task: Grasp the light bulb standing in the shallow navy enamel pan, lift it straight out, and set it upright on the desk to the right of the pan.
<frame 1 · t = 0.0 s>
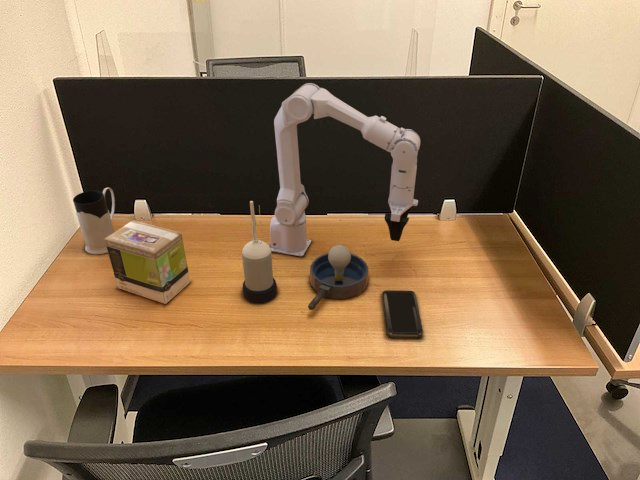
hand: (397, 232, 127), 10 cm above the table, tool pointing down, fingers open, 7 cm apart
pan handle: (318, 297, 117), point 2 cm above the table
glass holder: (107, 240, 142), on the table
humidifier: (260, 293, 123), on the table
light bulb: (339, 280, 126), resting on pan
pan: (338, 281, 126), on the table
tea box: (154, 286, 125), on the table
phone: (401, 315, 116), on the table
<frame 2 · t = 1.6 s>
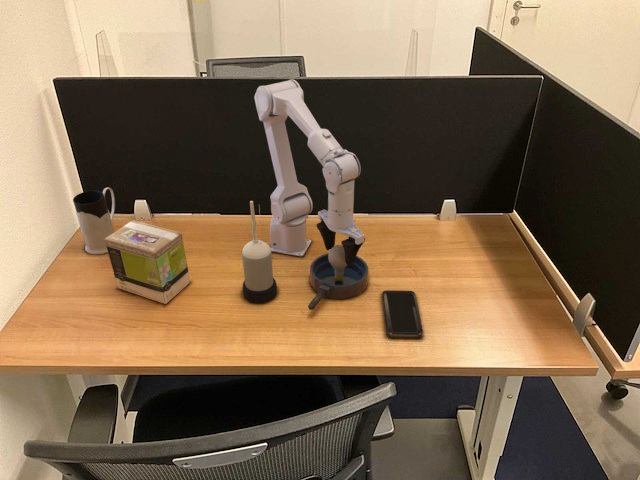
hand: (339, 255, 122), 8 cm above the table, tool pointing down, fingers open, 7 cm apart
nothing on the table moved.
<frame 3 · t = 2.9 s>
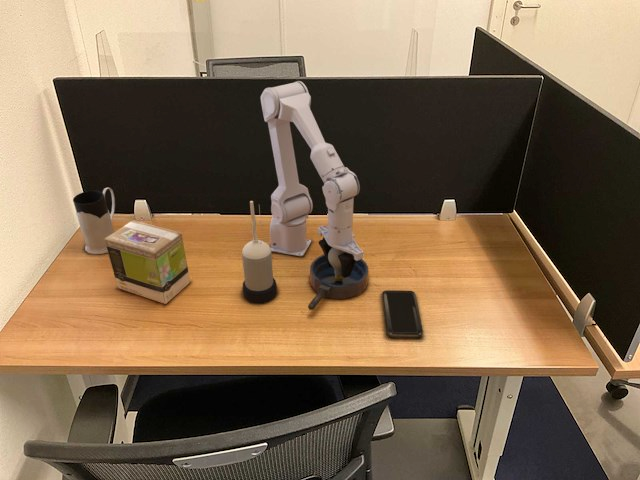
hand: (339, 270, 124), 3 cm above the table, tool pointing down, fingers closed on light bulb, 5 cm apart
light bulb: (338, 280, 126), resting on pan, touching gripper
everything else where it was.
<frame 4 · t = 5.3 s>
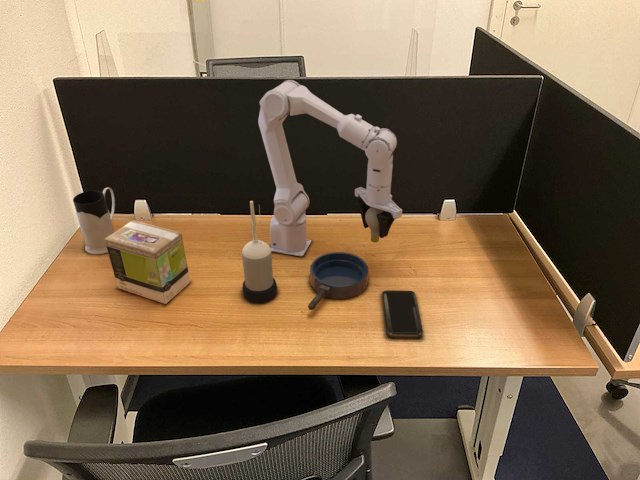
hand: (375, 231, 126), 10 cm above the table, tool pointing down, fingers closed on light bulb, 5 cm apart
light bulb: (374, 242, 128), point 7 cm above the table, touching gripper
everything else where it was.
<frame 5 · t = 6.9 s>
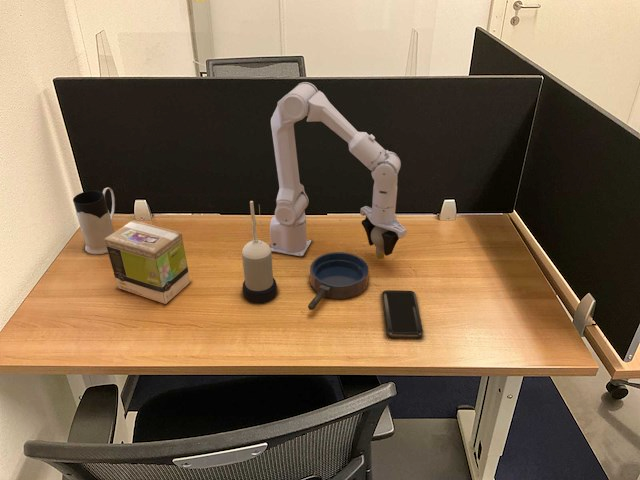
hand: (380, 249, 131), 4 cm above the table, tool pointing down, fingers closed on light bulb, 5 cm apart
light bulb: (379, 259, 133), point 1 cm above the table, touching gripper
everything else where it was.
when the fingers open (3 cm above the table, at t = 7.8 s): light bulb stays where it is, on the table.
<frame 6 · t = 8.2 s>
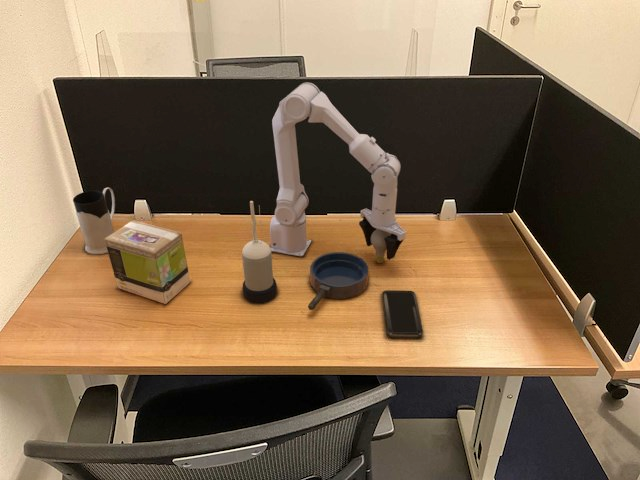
hand: (380, 251, 131), 3 cm above the table, tool pointing down, fingers open, 7 cm apart
light bulb: (379, 262, 133), on the table
everything else where it was.
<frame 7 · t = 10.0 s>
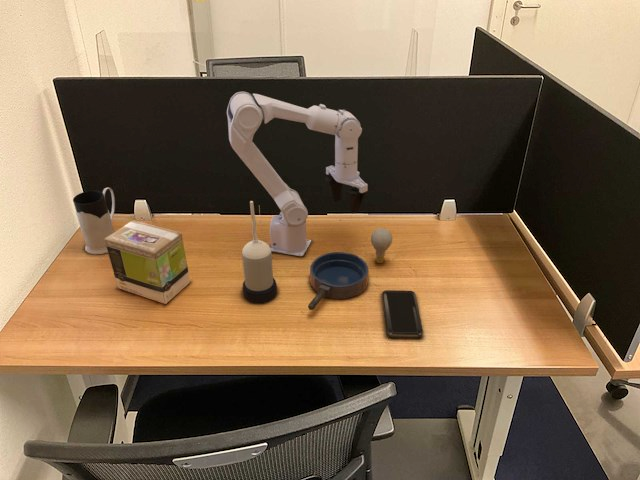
hand: (345, 206, 137), 10 cm above the table, tool pointing down, fingers open, 7 cm apart
nothing on the table moved.
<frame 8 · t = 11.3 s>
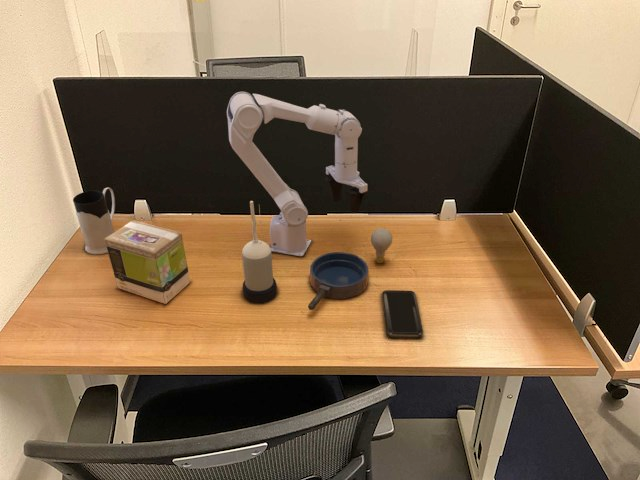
hand: (345, 206, 137), 10 cm above the table, tool pointing down, fingers open, 7 cm apart
nothing on the table moved.
at the end: light bulb inside the target area (0.0 cm from its centre), on the table; light bulb tilted 0°; light bulb touching table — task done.
